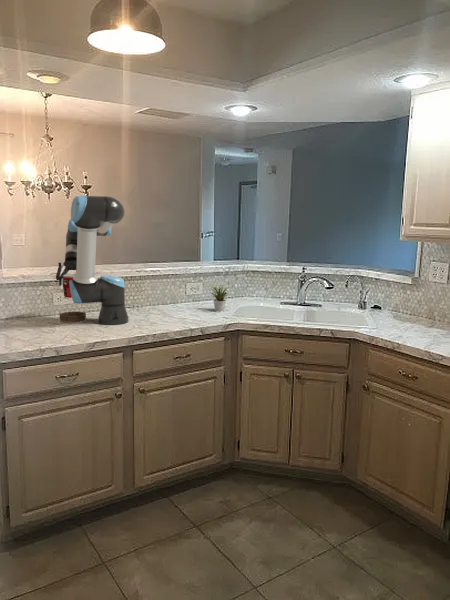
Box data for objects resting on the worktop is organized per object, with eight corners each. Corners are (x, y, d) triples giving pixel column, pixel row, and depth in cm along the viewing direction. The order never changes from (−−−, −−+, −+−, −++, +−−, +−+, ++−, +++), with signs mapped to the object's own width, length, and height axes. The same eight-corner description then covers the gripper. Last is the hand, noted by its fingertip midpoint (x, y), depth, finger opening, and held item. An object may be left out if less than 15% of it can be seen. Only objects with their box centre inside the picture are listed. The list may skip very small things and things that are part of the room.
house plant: (202, 312, 283) (202, 283, 280) (208, 307, 296) (208, 280, 293) (226, 313, 280) (227, 284, 277) (231, 309, 293) (232, 281, 290)
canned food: (65, 295, 260) (64, 274, 258) (81, 295, 261) (80, 274, 259) (62, 297, 253) (61, 276, 251) (78, 297, 253) (77, 276, 251)
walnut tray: (91, 319, 261) (90, 313, 261) (72, 323, 250) (72, 317, 250) (72, 316, 267) (72, 310, 267) (54, 320, 256) (54, 314, 256)
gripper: (93, 259, 270) (92, 294, 258) (52, 259, 266) (50, 294, 254) (92, 250, 264) (92, 285, 252) (51, 250, 260) (48, 286, 248)
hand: (71, 290), depth 253 cm, fingers closed on canned food, 8 cm apart
